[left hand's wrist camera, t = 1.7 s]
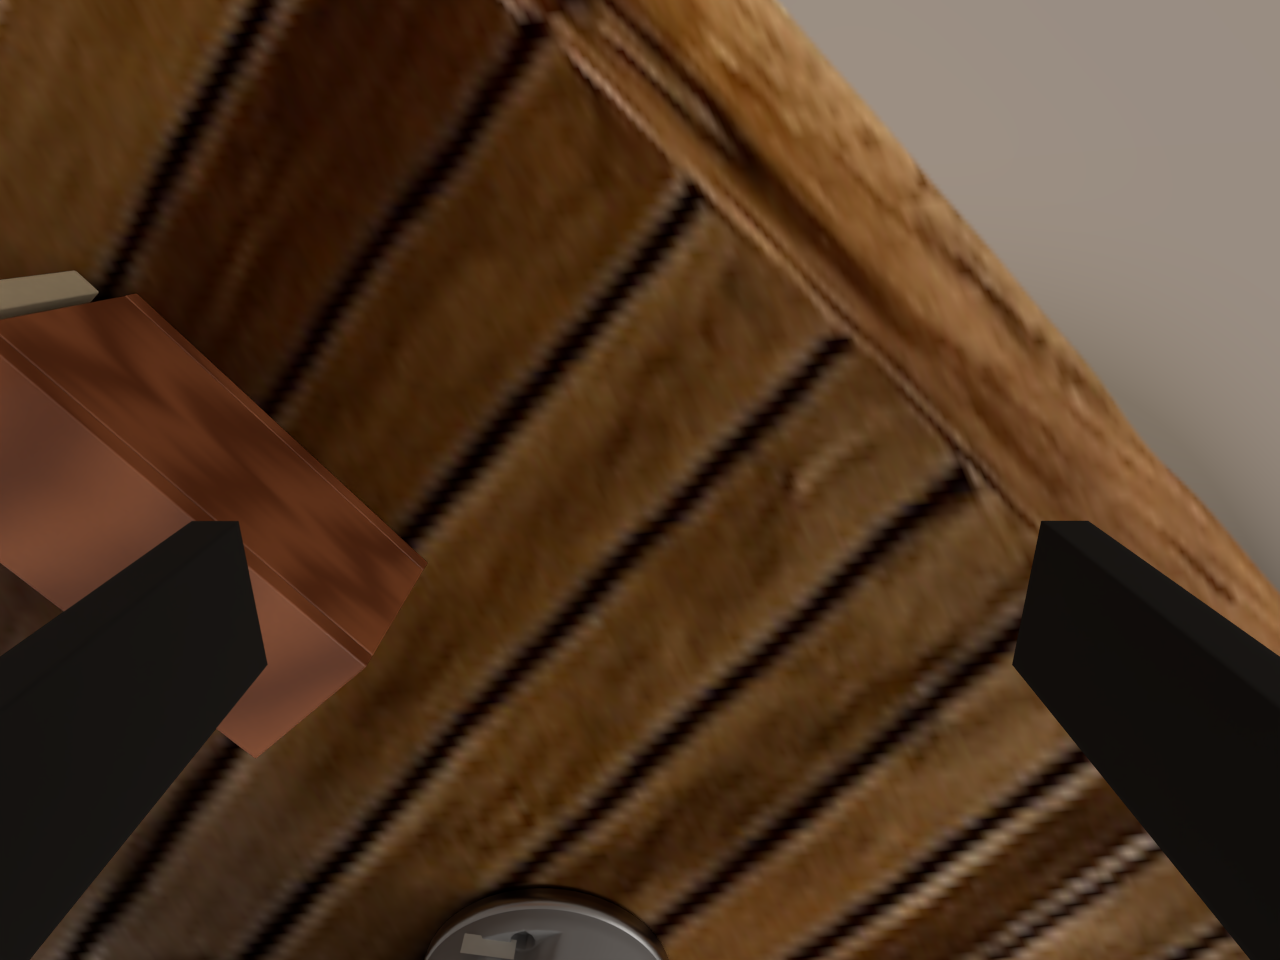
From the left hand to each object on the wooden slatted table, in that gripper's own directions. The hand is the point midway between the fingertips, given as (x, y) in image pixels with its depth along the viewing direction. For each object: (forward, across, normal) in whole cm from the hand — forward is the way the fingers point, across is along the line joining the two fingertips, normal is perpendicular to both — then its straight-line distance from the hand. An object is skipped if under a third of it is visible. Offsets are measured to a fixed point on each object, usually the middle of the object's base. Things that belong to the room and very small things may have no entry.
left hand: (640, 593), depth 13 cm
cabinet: (+22, +18, +6) cm, 29 cm away
